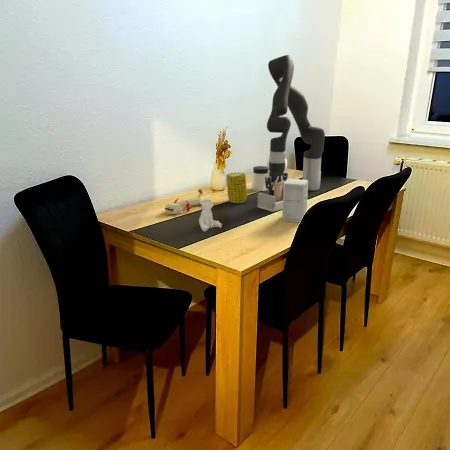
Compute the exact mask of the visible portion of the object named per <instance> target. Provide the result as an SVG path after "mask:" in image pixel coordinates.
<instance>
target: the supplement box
mask: <svg viewBox="0 0 450 450" xmlns="http://www.w3.org/2000/svg"><path fill="white" fill-rule="evenodd" d="M308 191H309V190H308V180H303V179H296V178H287V180H286V181H285V182H284V184H283V209H281V210H282V214H281V215H282V217H281V218H282V219H281V221H282V222H293V223H301V222H300V221H301V219H302V217H303V216H304V214H305V213H306V211H307V212H308V194H309V193H308Z"/></svg>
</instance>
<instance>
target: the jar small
mask: <svg viewBox="0 0 450 450" xmlns="http://www.w3.org/2000/svg"><path fill="white" fill-rule="evenodd" d="M271 183H274V182H271ZM282 184H283V182H281V181H280V182H277V183H276V186H275V187H274V196H275V197H276V202H279V201H281V200H282ZM272 186H273V185H271V187H272Z"/></svg>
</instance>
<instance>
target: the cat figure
mask: <svg viewBox="0 0 450 450" xmlns="http://www.w3.org/2000/svg"><path fill="white" fill-rule="evenodd" d="M197 191H198V193H199V194H198V195H197V197H189V198H185V199H181V200H180V197H178V198H176V199H175V200H174V202H169V203H166V205H165V207H164V210H165V214H166V215H167V216H169V215H179V214H181V213H182V212H183V210H184V208H185V207H186V211H187V212H190V210H191V206H199V205H201V206H202V204H200V203H199V201H203V200H204V199H205V198H203V199H202V198H201V197H202V196H203V194H204V191H203V190H202V189H201V188H199V189H198V190H197Z"/></svg>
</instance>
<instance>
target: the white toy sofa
mask: <svg viewBox="0 0 450 450" xmlns="http://www.w3.org/2000/svg"><path fill="white" fill-rule="evenodd" d="M256 205H257V206H256V207H257V208H258V209H259V208H260V209H263V210H267V211H269V212H272V213H274V212H277V211H281V210H283V201H282V200H281V201H279V202H276V197H275V196H271V195H269V194H267V193H264V192H263V193H262V192H261V191H258V193H257V204H256Z"/></svg>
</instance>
